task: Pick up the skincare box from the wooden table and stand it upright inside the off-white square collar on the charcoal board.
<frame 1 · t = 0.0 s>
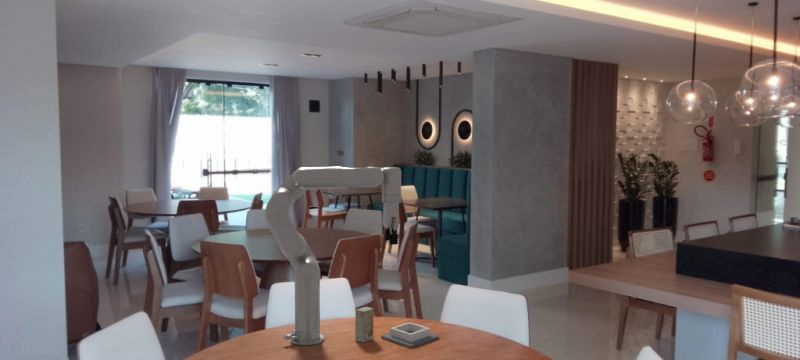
hand: (391, 242, 226), 37 cm above the table, tool pointing down, fingers open, 9 cm apart
holder board: (410, 338, 225), on the table
skincare box: (364, 340, 223), on the table
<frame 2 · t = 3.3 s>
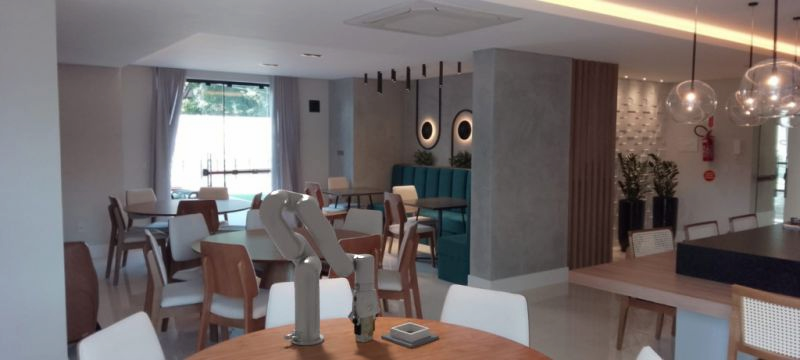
hand: (364, 332, 223), 3 cm above the table, tool pointing down, fingers closed on skincare box, 6 cm apart
skincare box: (364, 340, 223), on the table, touching gripper
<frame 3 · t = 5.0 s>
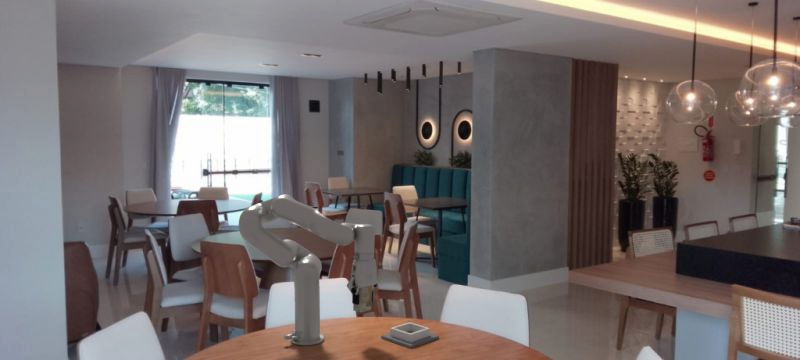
hand: (362, 302, 222), 15 cm above the table, tool pointing down, fingers closed on skincare box, 6 cm apart
skincare box: (362, 310, 223), point 11 cm above the table, touching gripper
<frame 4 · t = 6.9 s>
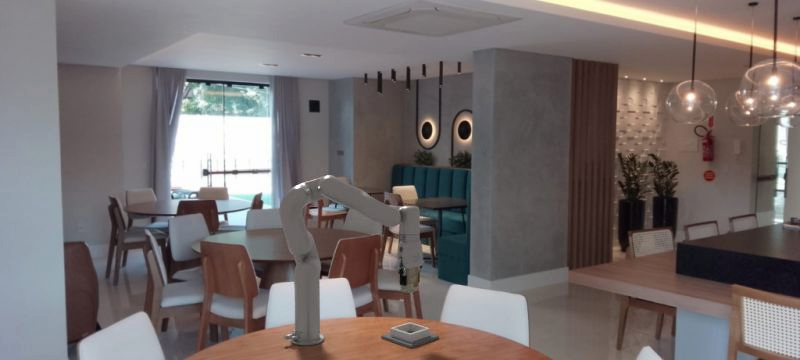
hand: (409, 283, 224), 22 cm above the table, tool pointing down, fingers closed on skincare box, 6 cm apart
skincare box: (409, 291, 224), point 18 cm above the table, touching gripper
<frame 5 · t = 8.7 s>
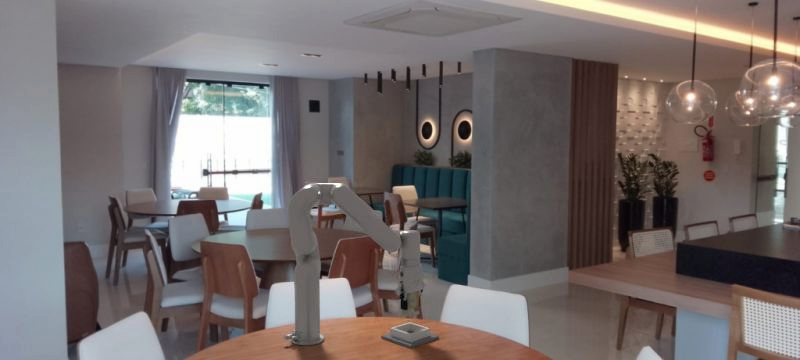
hand: (410, 307, 225), 12 cm above the table, tool pointing down, fingers closed on skincare box, 6 cm apart
skincare box: (410, 315, 225), point 9 cm above the table, touching gripper
when the fingers open (6 cm above the table, at t = 10.5 s): skincare box drops 2 cm, resting on holder board.
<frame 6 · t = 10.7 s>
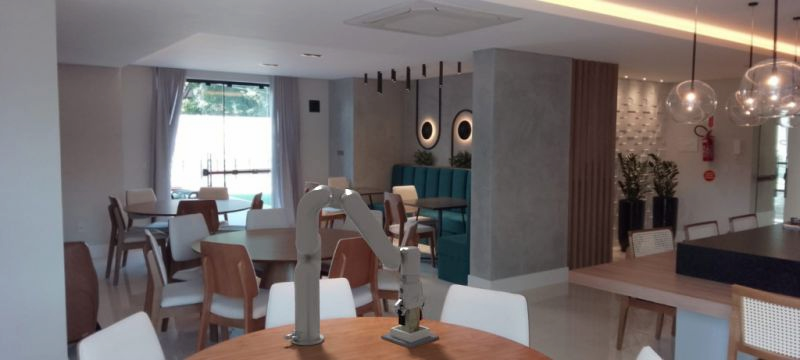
hand: (410, 322, 225), 6 cm above the table, tool pointing down, fingers open, 8 cm apart
skincare box: (410, 335, 226), point 1 cm above the table, touching holder board
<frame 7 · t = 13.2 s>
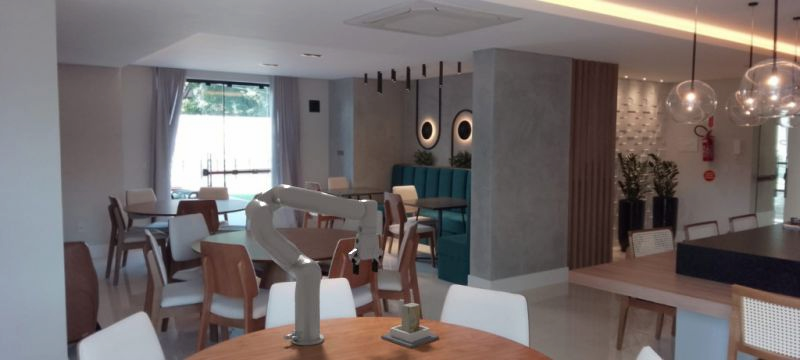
hand: (365, 272, 232), 24 cm above the table, tool pointing down, fingers open, 9 cm apart
nothing on the table moved.
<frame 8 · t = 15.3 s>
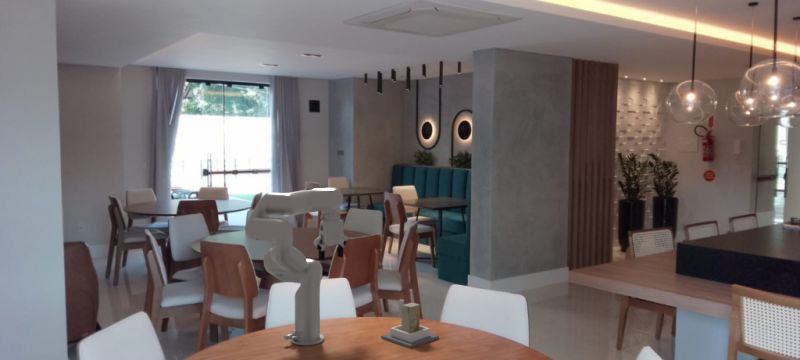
hand: (331, 258, 239), 28 cm above the table, tool pointing down, fingers open, 9 cm apart
nothing on the table moved.
at the end: skincare box 0.4 cm off-centre on the holder board, point 0.8 cm above the holder board's base; skincare box tilted 0°; the gripper is holding nothing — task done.
